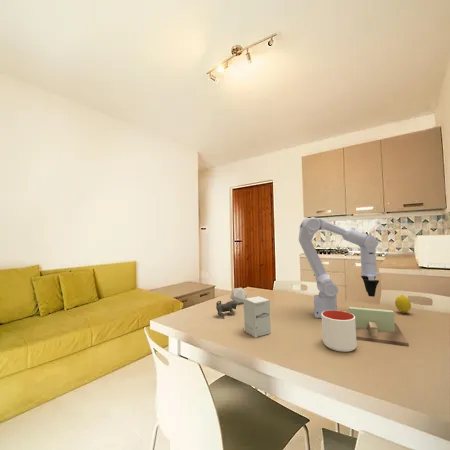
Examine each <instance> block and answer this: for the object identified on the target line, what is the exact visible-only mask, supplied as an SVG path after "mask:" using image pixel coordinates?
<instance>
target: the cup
mask: <svg viewBox="0 0 450 450" xmlns="http://www.w3.org/2000/svg"><path fill="white" fill-rule="evenodd" d="M321 316H322V318H321V332H322V333H321V334H322V342H323V344H324V345H325V346H326V347H327V348H329V349H330V350H333V351H337V352H341V353H342V352H343V353H345V352H347V353H348V352H351V351H354V350H355V349H356V348H357V343H358V342H357V339H356V324H355V316H354V315H353V314H351V313H349V311H345V310H338V309H337V310H328V311H324V312H322V313H321Z"/></svg>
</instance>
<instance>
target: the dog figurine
mask: <svg viewBox="0 0 450 450" xmlns="http://www.w3.org/2000/svg"><path fill="white" fill-rule="evenodd" d="M215 305H216V306H215V307H216V310H217V315H218V316H220V317H221V318H222V319H225V318H224V317H225V316H224V313H227V315H229V316H235V315H234V314H235V311H234V310H237V307H238V305H239V304H238V302H236V301H233V300H230V301H227V302H225V303H222V300H218V301H217V302H216V304H215ZM222 314H223V315H222Z"/></svg>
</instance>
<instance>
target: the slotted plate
mask: <svg viewBox="0 0 450 450" xmlns="http://www.w3.org/2000/svg"><path fill="white" fill-rule="evenodd" d="M348 313H351V314H353V315H354V316H355V324H356V328H361V329H367V324H369V322H375V323H376V326H377V328H378V330H379V331H387V332H395V324H394V323H395V312H394V311H393V310H389V309H381V308H380V309H377V308H369V307H368V308H367V307H356V306H348Z"/></svg>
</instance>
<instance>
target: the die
mask: <svg viewBox="0 0 450 450" xmlns="http://www.w3.org/2000/svg"><path fill="white" fill-rule="evenodd" d="M247 296H248V293H247V291H245V290H244V288H243V287H236V288H233V289H232V291H231V294H230V297H229V298H230V299H231V301H236V302H238V304H237V305H239V303H240V304H244V299H246V298H248V297H247Z"/></svg>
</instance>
